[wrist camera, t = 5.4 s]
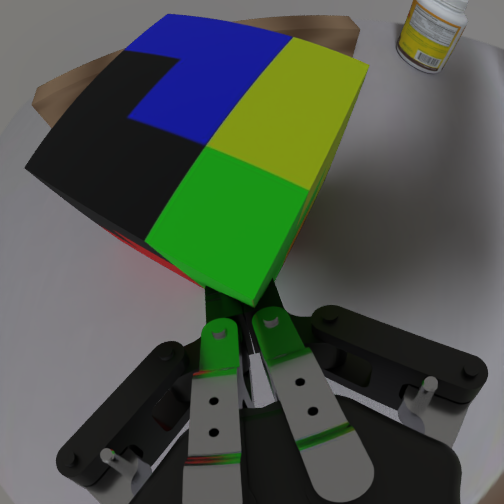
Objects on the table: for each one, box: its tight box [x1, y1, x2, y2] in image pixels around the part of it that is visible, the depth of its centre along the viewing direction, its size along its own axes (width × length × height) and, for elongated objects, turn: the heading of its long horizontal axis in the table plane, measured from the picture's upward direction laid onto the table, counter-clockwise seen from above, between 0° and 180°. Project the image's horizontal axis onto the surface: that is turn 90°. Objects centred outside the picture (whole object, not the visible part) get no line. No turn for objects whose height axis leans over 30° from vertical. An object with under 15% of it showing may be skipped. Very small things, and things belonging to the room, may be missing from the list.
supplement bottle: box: [397, 0, 468, 74], centre depth 18 cm, size 6×6×10 cm
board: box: [32, 15, 360, 128], centre depth 18 cm, size 24×2×6 cm, turn 103°
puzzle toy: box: [25, 14, 369, 308], centre depth 14 cm, size 10×10×10 cm
